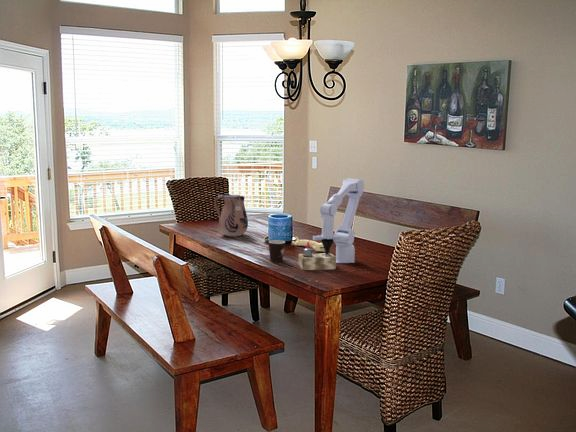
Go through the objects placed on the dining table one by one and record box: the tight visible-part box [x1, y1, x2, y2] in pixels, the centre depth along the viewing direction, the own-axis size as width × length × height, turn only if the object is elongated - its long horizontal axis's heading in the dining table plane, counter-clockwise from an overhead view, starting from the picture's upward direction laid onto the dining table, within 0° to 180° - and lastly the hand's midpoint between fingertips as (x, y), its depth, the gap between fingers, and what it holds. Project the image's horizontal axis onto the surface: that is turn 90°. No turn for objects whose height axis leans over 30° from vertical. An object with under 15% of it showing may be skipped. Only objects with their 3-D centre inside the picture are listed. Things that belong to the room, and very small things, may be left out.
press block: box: [298, 252, 337, 271], centre depth 296 cm, size 17×9×6 cm, turn 102°
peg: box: [303, 247, 314, 257], centre depth 294 cm, size 4×4×6 cm
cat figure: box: [290, 232, 325, 253], centre depth 336 cm, size 10×9×25 cm
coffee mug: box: [268, 239, 286, 263], centre depth 307 cm, size 12×9×10 cm
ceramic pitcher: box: [213, 194, 249, 238], centre depth 364 cm, size 18×21×25 cm
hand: (326, 253), depth 296 cm, fingers closed
